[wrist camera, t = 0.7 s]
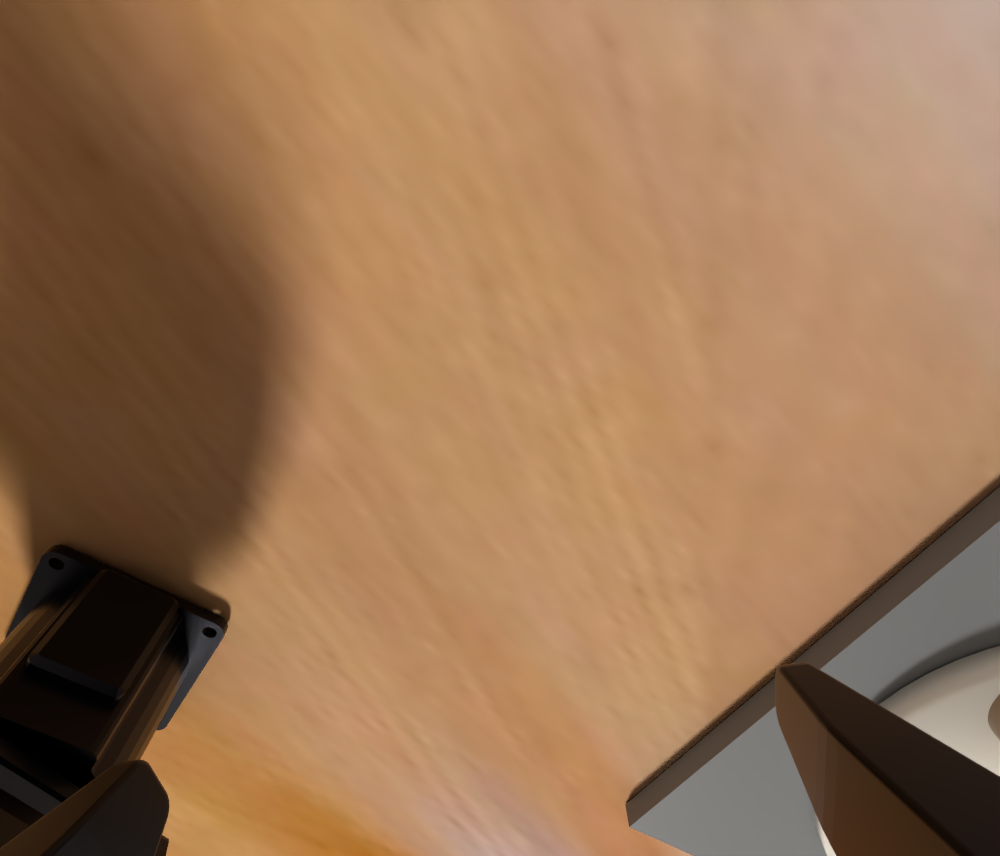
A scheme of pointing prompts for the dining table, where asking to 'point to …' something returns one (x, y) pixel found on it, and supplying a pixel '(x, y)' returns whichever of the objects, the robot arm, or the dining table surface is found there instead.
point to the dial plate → (851, 660)
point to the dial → (953, 710)
